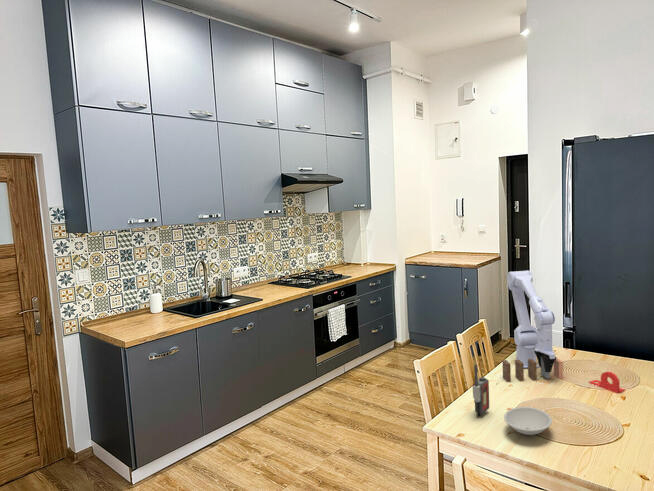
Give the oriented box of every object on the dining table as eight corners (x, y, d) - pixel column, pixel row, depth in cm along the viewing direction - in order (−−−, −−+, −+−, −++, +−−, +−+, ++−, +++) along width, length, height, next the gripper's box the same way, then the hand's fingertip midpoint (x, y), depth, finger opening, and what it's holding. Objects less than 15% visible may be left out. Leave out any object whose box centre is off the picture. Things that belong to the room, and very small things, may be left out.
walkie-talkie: (479, 420, 159) (477, 366, 157) (467, 416, 162) (466, 363, 160) (490, 411, 165) (488, 359, 163) (478, 408, 168) (477, 356, 166)
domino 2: (533, 381, 190) (532, 363, 189) (528, 376, 195) (527, 359, 194) (536, 381, 190) (536, 362, 189) (531, 376, 195) (531, 358, 194)
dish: (513, 416, 160) (513, 403, 160) (557, 427, 151) (557, 413, 151) (497, 437, 147) (496, 422, 147) (544, 450, 138) (543, 435, 137)
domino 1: (520, 381, 190) (519, 363, 189) (515, 377, 195) (515, 359, 194) (523, 381, 190) (523, 363, 189) (519, 377, 195) (518, 359, 194)
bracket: (625, 392, 174) (625, 373, 174) (617, 395, 173) (617, 375, 172) (596, 382, 185) (596, 363, 185) (588, 384, 184) (588, 365, 183)
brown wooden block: (507, 382, 190) (506, 364, 189) (502, 377, 195) (502, 360, 194) (510, 382, 190) (510, 364, 189) (506, 377, 195) (506, 360, 194)
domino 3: (559, 380, 189) (558, 361, 188) (553, 375, 194) (553, 357, 193) (563, 380, 189) (562, 361, 188) (557, 375, 194) (557, 357, 193)
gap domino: (546, 378, 189) (545, 360, 189) (540, 374, 194) (540, 356, 194) (549, 378, 189) (549, 360, 189) (544, 373, 194) (544, 356, 194)
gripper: (528, 334, 198) (528, 364, 199) (542, 344, 183) (543, 376, 184) (544, 333, 197) (544, 363, 199) (560, 343, 183) (560, 375, 184)
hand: (545, 369), depth 192 cm, fingers closed on gap domino, 5 cm apart
